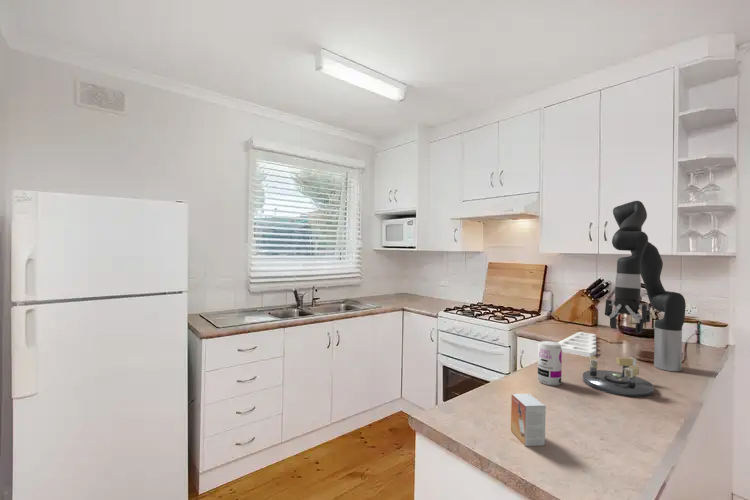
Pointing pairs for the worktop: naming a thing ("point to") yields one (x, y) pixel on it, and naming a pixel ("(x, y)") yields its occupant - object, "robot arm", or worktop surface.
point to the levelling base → (617, 384)
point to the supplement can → (549, 362)
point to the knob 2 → (631, 375)
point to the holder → (580, 344)
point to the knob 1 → (593, 366)
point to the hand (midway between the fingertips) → (625, 330)
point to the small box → (528, 419)
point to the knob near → (625, 362)
